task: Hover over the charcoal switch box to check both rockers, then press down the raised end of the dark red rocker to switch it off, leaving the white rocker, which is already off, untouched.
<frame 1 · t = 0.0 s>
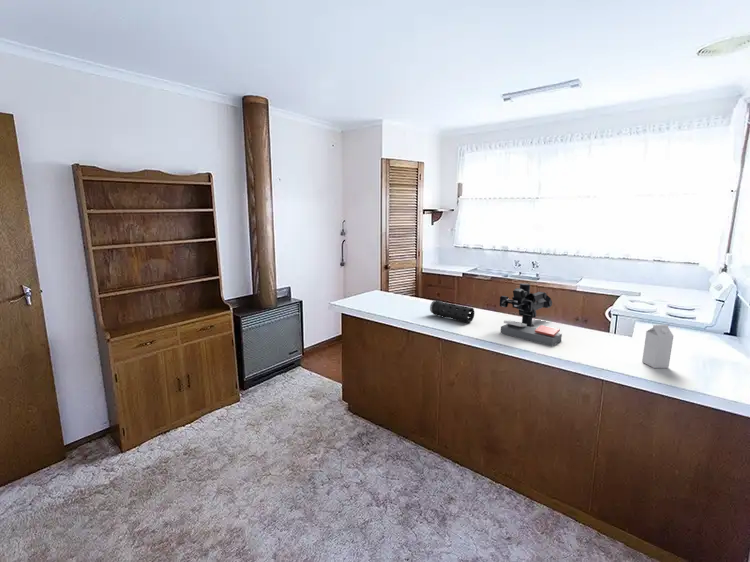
hand: (508, 306, 215), 17 cm above the countertop, tool horizontal, fingers open, 9 cm apart
switch box: (529, 337, 214), on the countertop
muzzle brake: (451, 319, 249), on the countertop
milk carton: (654, 365, 176), on the countertop
white rocker: (515, 323, 219), point 6 cm above the countertop, hinge at -10.0°
red rocker: (547, 330, 207), point 6 cm above the countertop, hinge at 10.0°
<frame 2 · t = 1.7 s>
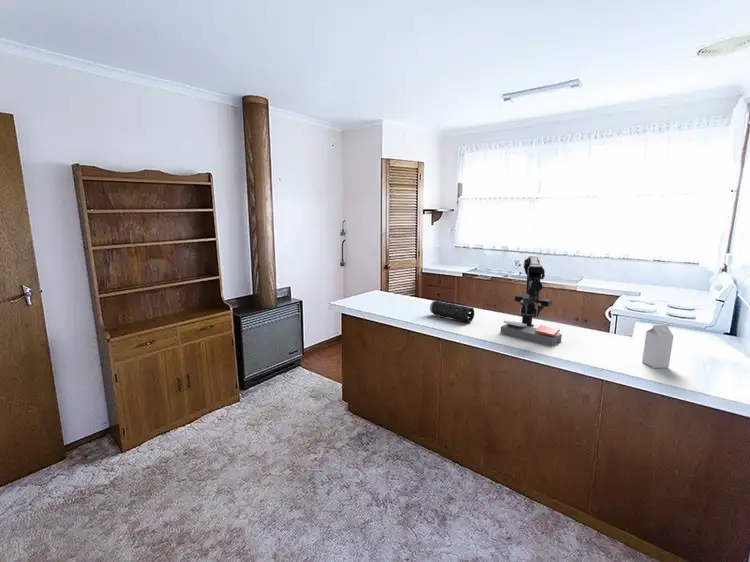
hand: (531, 316, 212), 12 cm above the countertop, tool pointing down, fingers open, 6 cm apart
nothing on the countertop moved.
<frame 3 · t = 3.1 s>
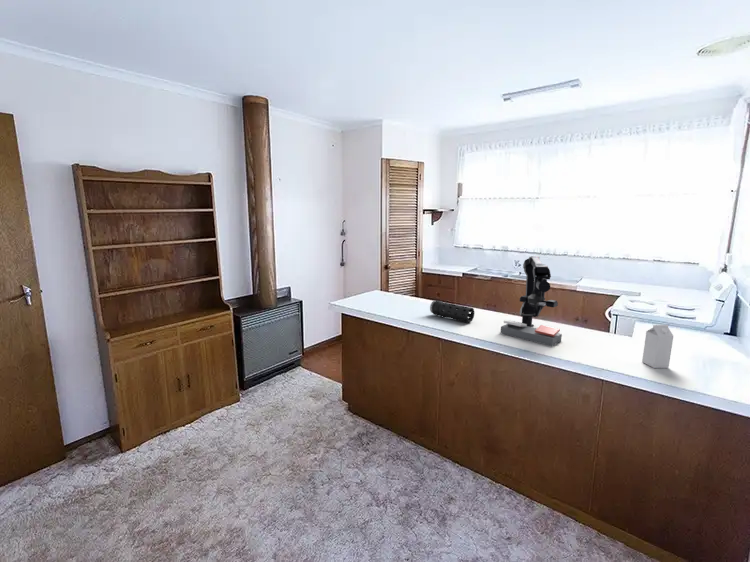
hand: (536, 316, 211), 12 cm above the countertop, tool pointing down, fingers closed
nothing on the countertop moved.
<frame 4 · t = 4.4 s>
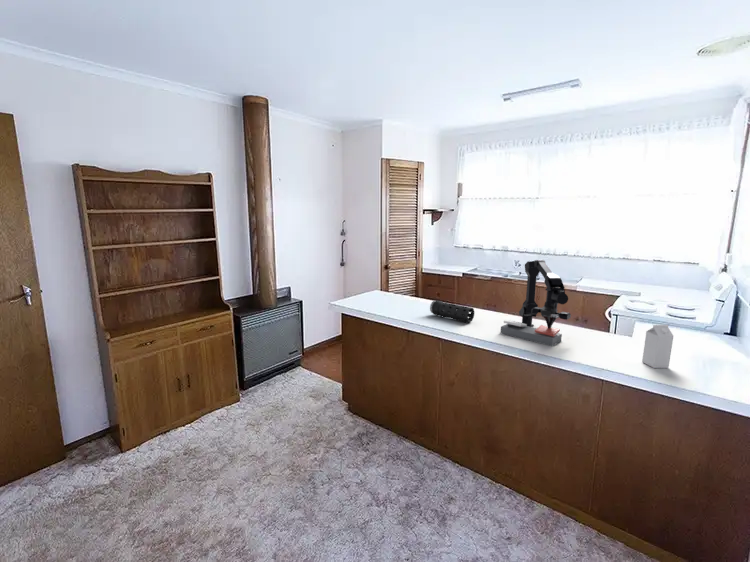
hand: (549, 328, 208), 6 cm above the countertop, tool pointing down, fingers closed, pressing on red rocker
red rocker: (547, 330, 207), point 6 cm above the countertop, hinge at 9.2°, touching gripper
everything else where it was.
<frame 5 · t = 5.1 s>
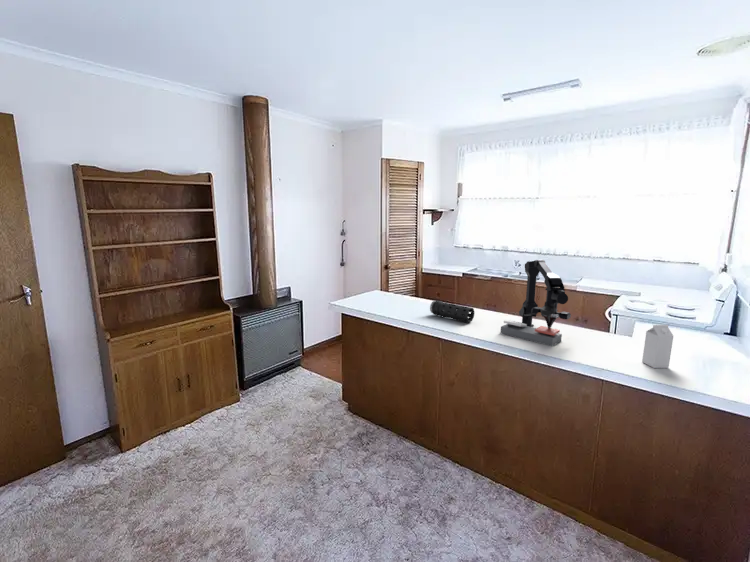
hand: (549, 328, 209), 6 cm above the countertop, tool pointing down, fingers closed, pressing on red rocker
red rocker: (547, 330, 207), point 6 cm above the countertop, hinge at 2.1°, touching gripper
everything else where it was.
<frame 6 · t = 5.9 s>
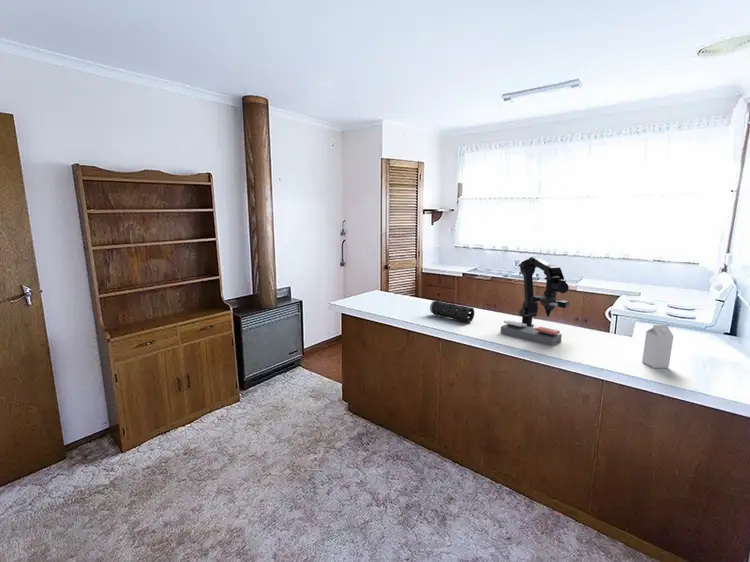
hand: (548, 316, 214), 11 cm above the countertop, tool pointing down, fingers closed
red rocker: (547, 330, 207), point 6 cm above the countertop, hinge at -6.1°
everything else where it was.
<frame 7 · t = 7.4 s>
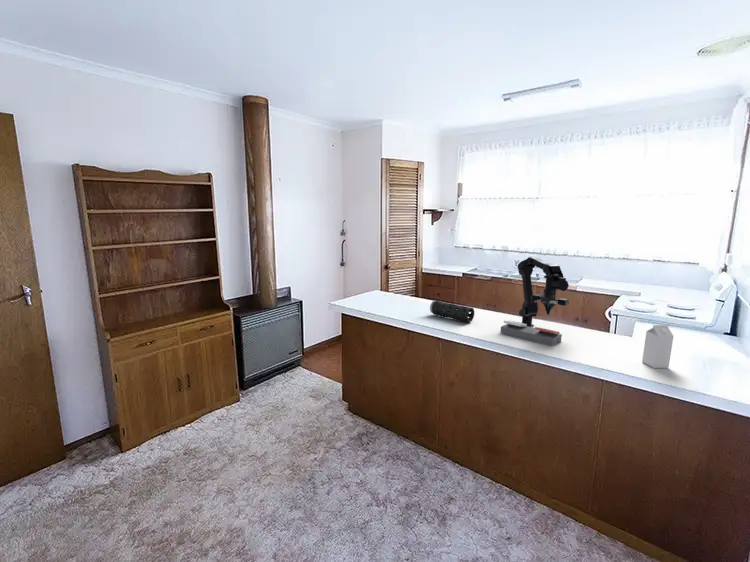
hand: (548, 314, 215), 12 cm above the countertop, tool pointing down, fingers closed
red rocker: (547, 330, 207), point 6 cm above the countertop, hinge at -15.0°
everything else where it was.
at the end: red rocker at -15° (first picture: +10°); white rocker at -10° (first picture: -10°) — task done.
